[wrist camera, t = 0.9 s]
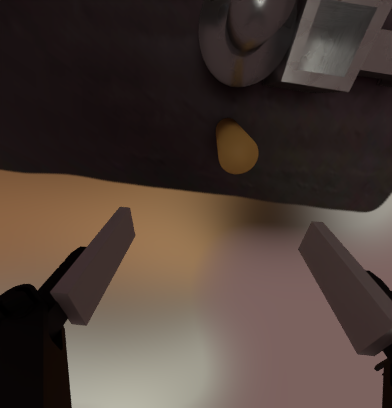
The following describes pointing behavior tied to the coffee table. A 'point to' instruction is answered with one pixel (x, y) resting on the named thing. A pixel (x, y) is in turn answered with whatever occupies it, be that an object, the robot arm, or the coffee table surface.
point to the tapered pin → (235, 147)
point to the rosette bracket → (296, 43)
